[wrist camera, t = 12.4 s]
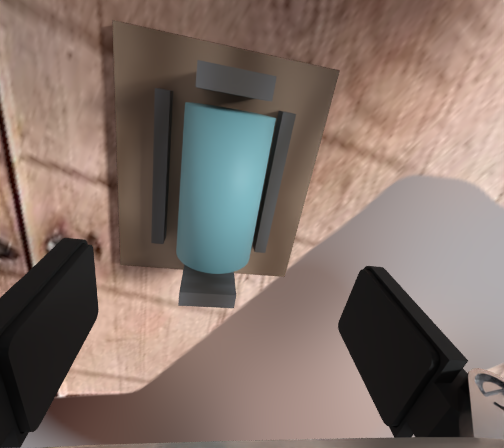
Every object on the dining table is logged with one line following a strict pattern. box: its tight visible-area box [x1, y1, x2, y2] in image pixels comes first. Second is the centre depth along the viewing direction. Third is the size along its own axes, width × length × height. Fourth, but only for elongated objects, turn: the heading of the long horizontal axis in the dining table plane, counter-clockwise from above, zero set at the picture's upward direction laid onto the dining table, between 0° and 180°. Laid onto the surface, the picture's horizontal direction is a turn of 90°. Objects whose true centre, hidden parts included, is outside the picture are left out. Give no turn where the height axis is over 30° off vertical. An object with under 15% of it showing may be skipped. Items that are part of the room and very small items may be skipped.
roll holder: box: [112, 20, 340, 308], centre depth 20 cm, size 16×19×8 cm
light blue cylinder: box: [176, 102, 276, 274], centre depth 20 cm, size 11×6×6 cm, turn 171°
